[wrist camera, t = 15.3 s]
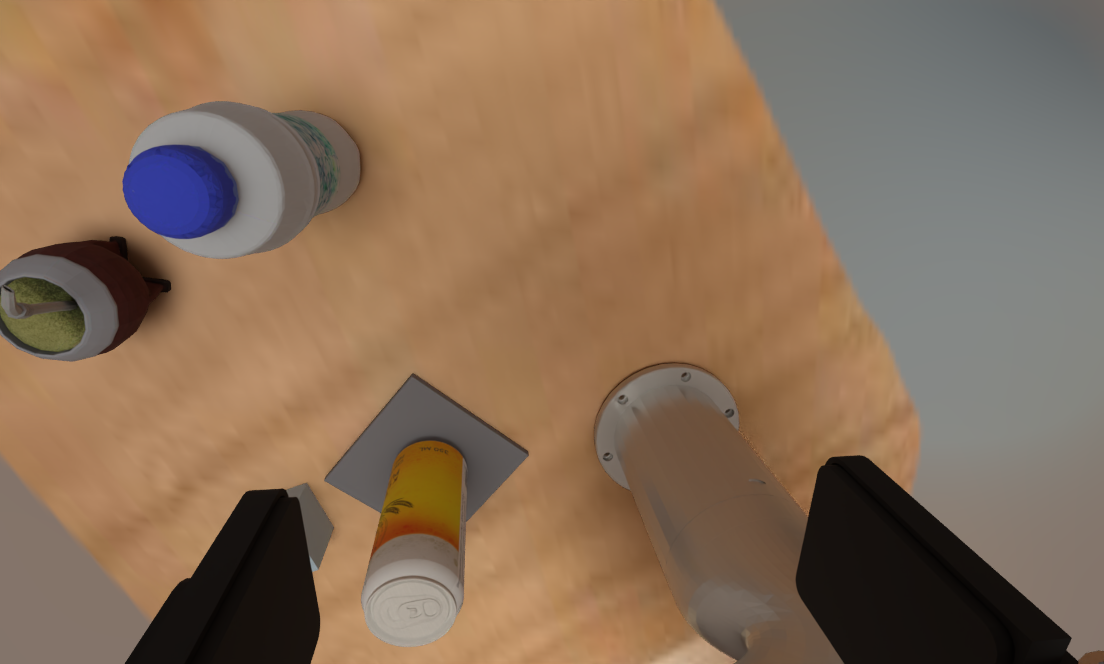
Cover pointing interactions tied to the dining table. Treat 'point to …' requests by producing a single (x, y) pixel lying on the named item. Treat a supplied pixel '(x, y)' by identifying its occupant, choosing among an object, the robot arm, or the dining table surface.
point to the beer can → (419, 548)
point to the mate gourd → (74, 299)
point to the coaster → (425, 419)
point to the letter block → (313, 523)
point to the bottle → (238, 176)
